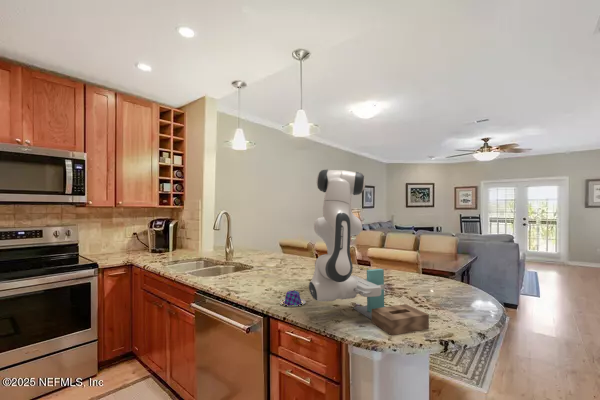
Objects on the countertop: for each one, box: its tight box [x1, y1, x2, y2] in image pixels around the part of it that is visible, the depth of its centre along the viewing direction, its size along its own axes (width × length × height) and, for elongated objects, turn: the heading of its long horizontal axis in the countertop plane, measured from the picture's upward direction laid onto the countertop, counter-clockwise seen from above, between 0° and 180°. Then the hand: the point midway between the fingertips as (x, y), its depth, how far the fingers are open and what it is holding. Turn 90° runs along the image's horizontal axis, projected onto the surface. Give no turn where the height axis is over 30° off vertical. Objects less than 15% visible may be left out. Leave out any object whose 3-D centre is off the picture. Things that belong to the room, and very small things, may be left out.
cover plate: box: [366, 268, 385, 313], centre depth 121 cm, size 7×2×17 cm, turn 110°
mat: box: [352, 305, 387, 321], centre depth 121 cm, size 14×14×1 cm
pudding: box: [279, 290, 306, 307], centre depth 133 cm, size 12×12×5 cm
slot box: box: [371, 303, 430, 336], centre depth 107 cm, size 16×12×5 cm
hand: (377, 283), depth 122 cm, fingers open, 7 cm apart
